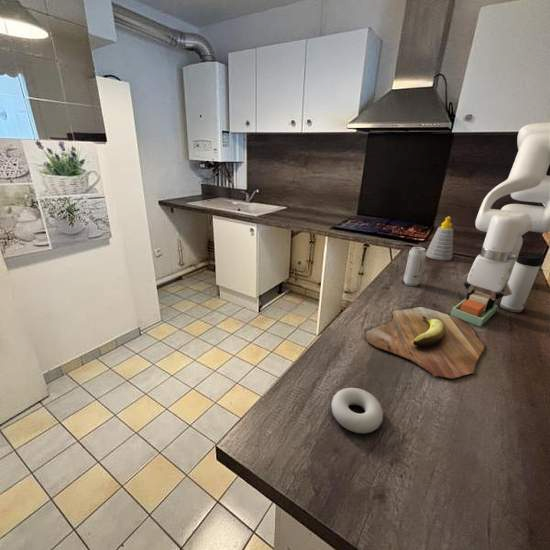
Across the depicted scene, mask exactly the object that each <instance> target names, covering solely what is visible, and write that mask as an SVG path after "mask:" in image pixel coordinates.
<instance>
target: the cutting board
mask: <svg viewBox="0 0 550 550" xmlns="http://www.w3.org/2000/svg"><path fill="white" fill-rule="evenodd" d="M392 317H393V318H392V319H391V320H389V321H387V322H385V323H383V324H380V325H378V326H375V327H371V328H369V329H367V330H366V332H365V339H366V341H367V342H368V343H369V344H371V345H372V346H374V347H376V348H377V349H382V350H384V351H387V352H390V353H393V354H395V355H398V356H400V357H402V358H404V359H407V360H410V361H411V362H413V363H415V364H416V365H418V366H419V367H421V368H422V369H424V370H426V371H428V372H429V373H430V374H431V375H432V376H433V377H442V378H447V379H452V380H453V379H456V378H460V377H462V376H463V377H464V376H466V375H470V374H475V368H476V364H477V362H478V360H479V358H480V356H481V355H482V354H483V352H484V349H485V344H484V343H483V342H482V340H480V338H479V337H478V336H477V334H476V332H475V331H474V329H473V328H472V327H471V326H469V325H468V324H467V323H466V321H464V320H462V319H459V318H457V317H454V316H451V315H449V314H447V313H443V312H441V311H438V310H435V309H431V308H426V307H423V306H417V307H411V308H406V309H395V310H393V311H392Z"/></svg>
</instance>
